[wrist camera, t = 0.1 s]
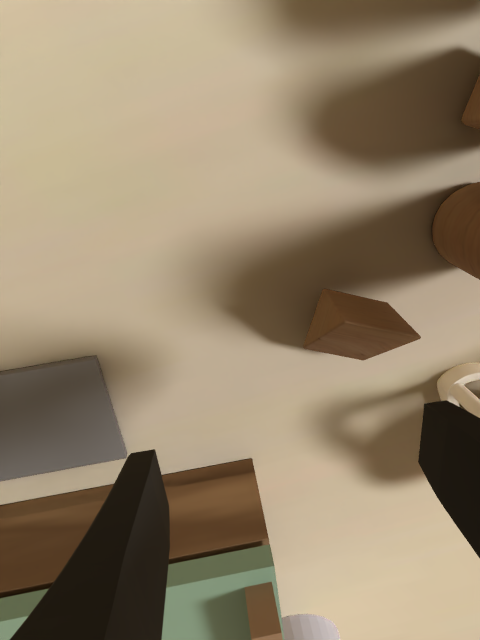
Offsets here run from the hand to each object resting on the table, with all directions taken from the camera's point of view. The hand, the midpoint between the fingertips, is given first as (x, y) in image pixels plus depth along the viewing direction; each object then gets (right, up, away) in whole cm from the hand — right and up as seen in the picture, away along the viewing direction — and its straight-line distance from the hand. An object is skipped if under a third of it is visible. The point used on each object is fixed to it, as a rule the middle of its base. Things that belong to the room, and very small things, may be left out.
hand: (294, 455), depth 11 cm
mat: (-11, -1, +9) cm, 15 cm away
